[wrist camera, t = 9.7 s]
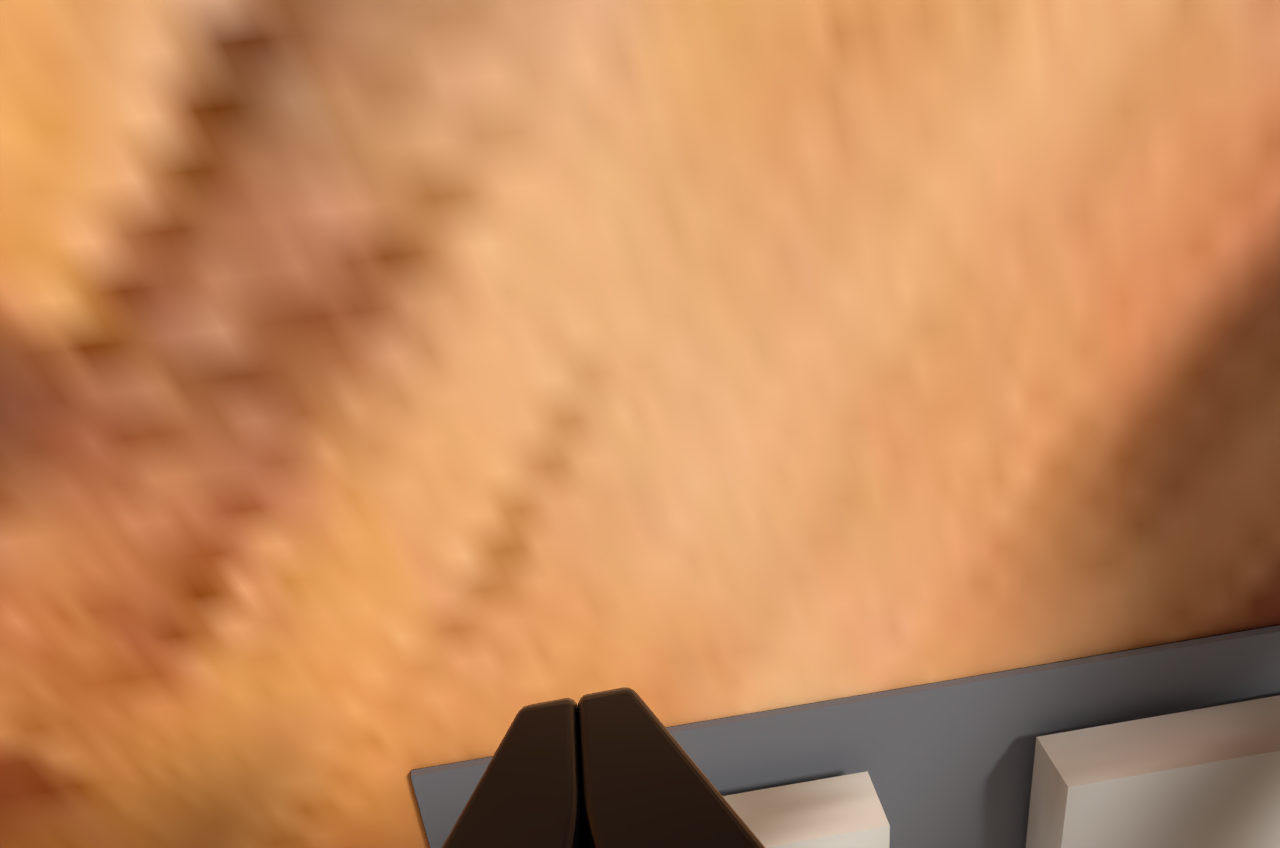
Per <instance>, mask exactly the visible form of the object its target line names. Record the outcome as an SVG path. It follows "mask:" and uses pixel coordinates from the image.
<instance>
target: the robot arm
mask: <svg viewBox="0 0 1280 848" xmlns="http://www.w3.org/2000/svg"><path fill="white" fill-rule="evenodd" d="M442 848H765V847H764V845H763V844H762V843H761V842H760V841H759V839H758V838H757V837H756V836H755V835H754V833H753V832H752V831H751V830H750V829H749V827H748V826H747V825H746V824H745V823H744V821H743V820H742V819H741V818H740V817H739V815H738V814H737V813H736V812H735V811H734V809H733V808H732V807H731V806H730V805H729V803H728V802H727V801H726V800H725V799H724V797H723V796H722V795H721V794H720V793H719V791H718V790H717V789H716V788H715V787H714V785H713V784H712V783H711V782H710V781H709V779H708V778H707V777H706V776H705V775H704V773H703V772H702V771H701V770H700V769H699V767H698V766H697V765H696V764H695V763H694V761H693V760H692V759H691V758H690V757H689V755H688V754H687V753H686V752H685V750H684V749H683V748H682V747H681V746H680V744H679V743H678V742H677V741H676V740H675V738H674V737H673V736H672V735H671V734H670V732H669V731H668V730H667V729H666V728H665V726H664V725H663V724H662V723H661V722H660V720H659V719H658V718H657V717H656V716H655V714H654V713H653V712H652V711H651V710H650V708H649V707H648V706H647V705H646V704H645V702H644V701H643V700H642V699H641V698H640V696H639V695H638V694H637V693H636V692H635V691H634V690H632V689H630V688H619V689H613V690H608V691H602V692H597V693H592V694H587V695H584V696H583V697H582V698H581V699H580V701H579V703H578V705H577V703H576V702H575V701H574V700H572V699H570V698H564V699H559V700H553V701H548V702H543V703H537V704H532V705H528V706H525V707H523V708H522V709H521V710H520V711H519V712H518V714H517V715H516V717H515V719H514V721H513V722H512V724H511V726H510V728H509V729H508V731H507V733H506V735H505V737H504V738H503V740H502V742H501V744H500V745H499V747H498V749H497V751H496V753H495V754H494V756H493V758H492V760H491V761H490V763H489V765H488V767H487V768H486V770H485V772H484V774H483V776H482V777H481V779H480V781H479V783H478V784H477V786H476V788H475V790H474V792H473V793H472V795H471V797H470V799H469V800H468V802H467V804H466V806H465V807H464V809H463V811H462V813H461V815H460V816H459V818H458V820H457V822H456V823H455V825H454V827H453V829H452V831H451V832H450V834H449V836H448V838H447V839H446V841H445V843H444V845H443V846H442Z"/></svg>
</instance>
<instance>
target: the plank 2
mask: <svg viewBox="0 0 1280 848" xmlns="http://www.w3.org/2000/svg"><path fill="white" fill-rule="evenodd" d="M1026 848H1280V695H1278V696H1273V697H1267V698H1261V699H1255V700H1249V701H1243V702H1237V703H1232V704H1226V705H1220V706H1214V707H1208V708H1202V709H1196V710H1191V711H1185V712H1179V713H1173V714H1167V715H1161V716H1155V717H1150V718H1144V719H1138V720H1132V721H1126V722H1120V723H1114V724H1109V725H1103V726H1097V727H1091V728H1085V729H1079V730H1074V731H1068V732H1062V733H1056V734H1050V735H1044V736H1038V737H1036V747H1035V757H1034V767H1033V777H1032V787H1031V797H1030V807H1029V817H1028V827H1027V838H1026Z"/></svg>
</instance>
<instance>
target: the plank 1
mask: <svg viewBox="0 0 1280 848" xmlns="http://www.w3.org/2000/svg"><path fill="white" fill-rule="evenodd" d="M723 797H724V799H725V800H726V801H727V802H728V803H729V805H730V806H731V807H732V808H733V809H734V811H735V812H736V813H737V814H738V815H739V817H740V818H741V819H742V820H743V821H744V823H745V824H746V825H747V826H748V827H749V829H750V830H751V831H752V832H753V833H754V835H755V836H756V837H757V838H758V839H759V841H760V842H761V843H762V844H763V845H764V847H765V848H889V842H890V825H889V823H888V820H887V818H886V815H885V813H884V810H883V808H882V805H881V803H880V800H879V798H878V796H877V793H876V791H875V788H874V786H873V783H872V781H871V778H870V776H869V773H868V771H866V772H861V773H855V774H849V775H843V776H837V777H831V778H825V779H820V780H814V781H808V782H802V783H796V784H790V785H785V786H779V787H773V788H767V789H761V790H755V791H749V792H744V793H738V794H732V795H726V796H723Z"/></svg>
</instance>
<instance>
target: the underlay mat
mask: <svg viewBox="0 0 1280 848" xmlns="http://www.w3.org/2000/svg"><path fill="white" fill-rule="evenodd" d="M1278 695H1280V625H1278V626H1272V627H1266V628H1260V629H1254V630H1248V631H1242V632H1236V633H1230V634H1224V635H1218V636H1212V637H1206V638H1200V639H1194V640H1188V641H1182V642H1176V643H1170V644H1164V645H1158V646H1152V647H1146V648H1140V649H1134V650H1128V651H1122V652H1116V653H1110V654H1104V655H1098V656H1092V657H1086V658H1080V659H1074V660H1068V661H1062V662H1056V663H1050V664H1044V665H1038V666H1032V667H1026V668H1020V669H1014V670H1008V671H1002V672H996V673H990V674H984V675H978V676H972V677H966V678H960V679H954V680H948V681H942V682H936V683H931V684H925V685H919V686H913V687H907V688H901V689H895V690H889V691H883V692H877V693H871V694H865V695H859V696H853V697H847V698H841V699H835V700H829V701H823V702H817V703H811V704H805V705H799V706H793V707H787V708H781V709H775V710H769V711H763V712H757V713H751V714H745V715H739V716H733V717H727V718H721V719H715V720H709V721H703V722H697V723H691V724H685V725H679V726H673V727H667V728H666V729H667V730H668V731H669V732H670V734H671V735H672V736H673V737H674V738H675V740H676V741H677V742H678V743H679V744H680V746H681V747H682V748H683V749H684V750H685V752H686V753H687V754H688V755H689V757H690V758H691V759H692V760H693V761H694V763H695V764H696V765H697V766H698V767H699V769H700V770H701V771H702V772H703V773H704V775H705V776H706V777H707V778H708V779H709V781H710V782H711V783H712V784H713V785H714V787H715V788H716V789H717V790H718V791H719V793H720V794H721V795H722V796H726V795H732V794H738V793H744V792H749V791H755V790H761V789H767V788H773V787H779V786H785V785H790V784H796V783H802V782H808V781H814V780H820V779H825V778H831V777H837V776H843V775H849V774H855V773H861V772H866V771H868V773H869V776H870V778H871V781H872V783H873V786H874V788H875V791H876V793H877V796H878V798H879V800H880V803H881V805H882V808H883V810H884V813H885V815H886V818H887V820H888V823H889V825H890V842H889V848H1026V838H1027V827H1028V817H1029V807H1030V797H1031V787H1032V777H1033V767H1034V757H1035V747H1036V737H1038V736H1044V735H1050V734H1056V733H1062V732H1068V731H1074V730H1079V729H1085V728H1091V727H1097V726H1103V725H1109V724H1114V723H1120V722H1126V721H1132V720H1138V719H1144V718H1150V717H1155V716H1161V715H1167V714H1173V713H1179V712H1185V711H1191V710H1196V709H1202V708H1208V707H1214V706H1220V705H1226V704H1232V703H1237V702H1243V701H1249V700H1255V699H1261V698H1267V697H1273V696H1278ZM492 758H493V757H487V758H481V759H475V760H469V761H463V762H457V763H451V764H445V765H439V766H433V767H427V768H421V769H415V770H412V771H411V779H412V783H413V787H414V790H415V794H416V798H417V801H418V805H419V809H420V812H421V816H422V820H423V823H424V827H425V831H426V834H427V838H428V842H429V845H430V848H442V846H443V845H444V843H445V841H446V839H447V838H448V836H449V834H450V832H451V831H452V829H453V827H454V825H455V823H456V822H457V820H458V818H459V816H460V815H461V813H462V811H463V809H464V807H465V806H466V804H467V802H468V800H469V799H470V797H471V795H472V793H473V792H474V790H475V788H476V786H477V784H478V783H479V781H480V779H481V777H482V776H483V774H484V772H485V770H486V768H487V767H488V765H489V763H490V761H491V760H492Z"/></svg>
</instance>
